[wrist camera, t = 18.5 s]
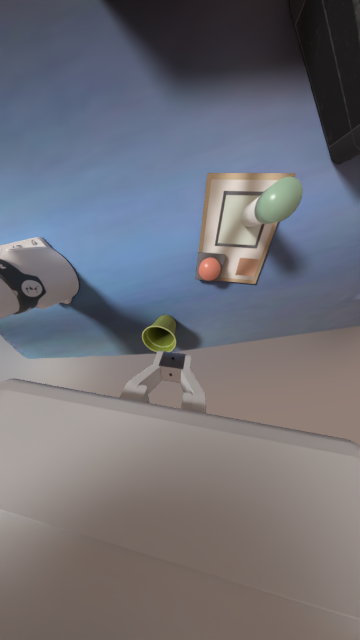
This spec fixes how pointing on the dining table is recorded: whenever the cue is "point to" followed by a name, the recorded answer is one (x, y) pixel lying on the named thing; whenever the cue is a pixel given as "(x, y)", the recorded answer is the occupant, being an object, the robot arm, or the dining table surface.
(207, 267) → the button
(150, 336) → the plant pot
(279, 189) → the green capped bottle
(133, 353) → the dining table surface
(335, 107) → the cash box
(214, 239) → the colouring board
